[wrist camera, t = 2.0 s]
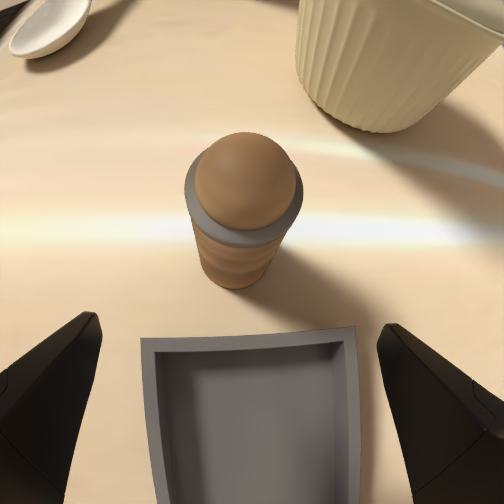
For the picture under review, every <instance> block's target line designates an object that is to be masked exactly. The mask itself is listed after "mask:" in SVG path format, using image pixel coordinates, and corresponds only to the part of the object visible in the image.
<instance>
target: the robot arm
mask: <svg viewBox="0 0 504 504" xmlns="http://www.w3.org/2000/svg"><path fill="white" fill-rule="evenodd" d="M101 343H102V330H101V326H100V322H99V318H98V315H97V314H96V313H95V312H87V311H85V312H82V313H81V314H80V315H78V316H77V317H75V318H74V319H73V320H71V321H70V322H68V323H67V324H66V325H64V326H63V327H61V328H60V329H59V330H57V331H56V332H54V333H53V334H52V335H50V336H49V337H48V338H46V339H45V340H43V341H42V342H41V343H39V344H38V345H37V346H35V347H34V348H33V349H31V350H30V351H29V352H27V353H26V354H25V355H23V356H22V357H21V358H19V359H18V360H17V361H15V362H14V363H13V364H11V365H10V366H9V367H8V369H5V370H3V371H2V372H1V373H0V504H63V502H64V497H65V491H66V486H67V481H68V476H69V471H70V467H71V462H72V458H73V454H74V450H75V446H76V442H77V438H78V434H79V430H80V426H81V423H82V419H83V415H84V412H85V408H86V405H87V401H88V398H89V395H90V391H91V388H92V385H93V381H94V377H95V372H96V367H97V362H98V357H99V352H100V347H101ZM377 352H378V357H379V362H380V367H381V373H382V378H383V383H384V388H385V391H386V395H387V398H388V402H389V405H390V409H391V412H392V416H393V419H394V423H395V426H396V430H397V434H398V438H399V441H400V445H401V449H402V453H403V457H404V461H405V466H406V470H407V474H408V478H409V483H410V487H411V492H412V494H413V495H412V497H413V502H414V504H504V401H502V400H501V399H499V398H498V397H496V396H495V395H493V394H492V393H490V392H489V391H488V390H486V389H485V388H484V387H482V386H481V385H480V384H478V383H477V382H476V381H474V380H472V379H471V378H470V377H469V376H468V375H466V374H465V373H464V372H462V371H461V370H460V369H459V368H457V367H456V366H455V365H453V364H452V363H451V362H449V361H448V360H447V359H445V358H444V357H443V356H441V355H440V354H438V353H437V352H436V351H434V350H433V349H432V348H430V347H429V346H428V345H426V344H425V343H424V342H422V341H421V340H420V339H418V338H417V337H415V336H414V335H413V334H411V333H410V332H409V331H407V330H406V329H405V328H403V327H402V326H400V325H399V324H397V323H387V324H385V325H384V327H383V330H382V332H381V334H380V337H379V339H378V341H377Z"/></svg>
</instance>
